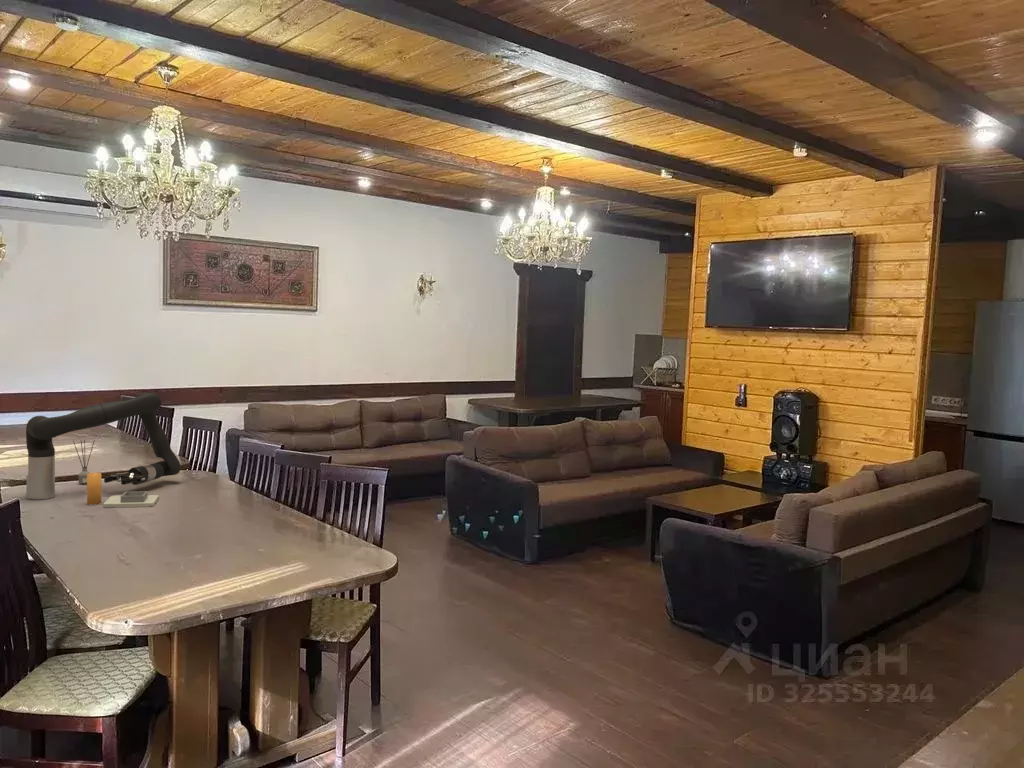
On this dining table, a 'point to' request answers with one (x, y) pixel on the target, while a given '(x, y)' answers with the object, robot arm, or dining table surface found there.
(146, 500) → the cream slab
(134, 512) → the dining table surface
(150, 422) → the robot arm
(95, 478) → the orange cylinder
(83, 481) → the reed diffuser
